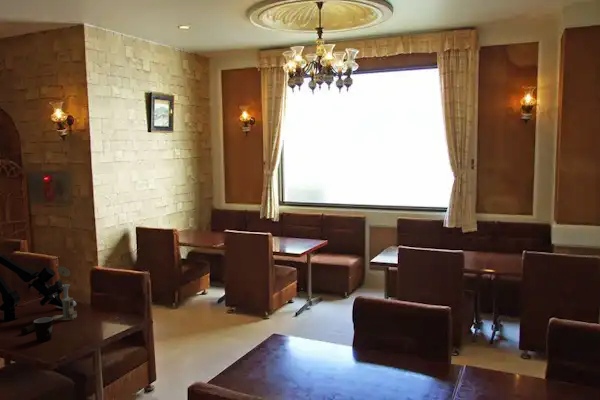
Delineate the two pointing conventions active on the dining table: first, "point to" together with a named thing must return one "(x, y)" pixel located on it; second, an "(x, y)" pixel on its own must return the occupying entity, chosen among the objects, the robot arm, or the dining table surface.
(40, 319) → the coffee mug
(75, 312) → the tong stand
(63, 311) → the sliding jaw
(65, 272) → the flower in vase
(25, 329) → the hand tool
